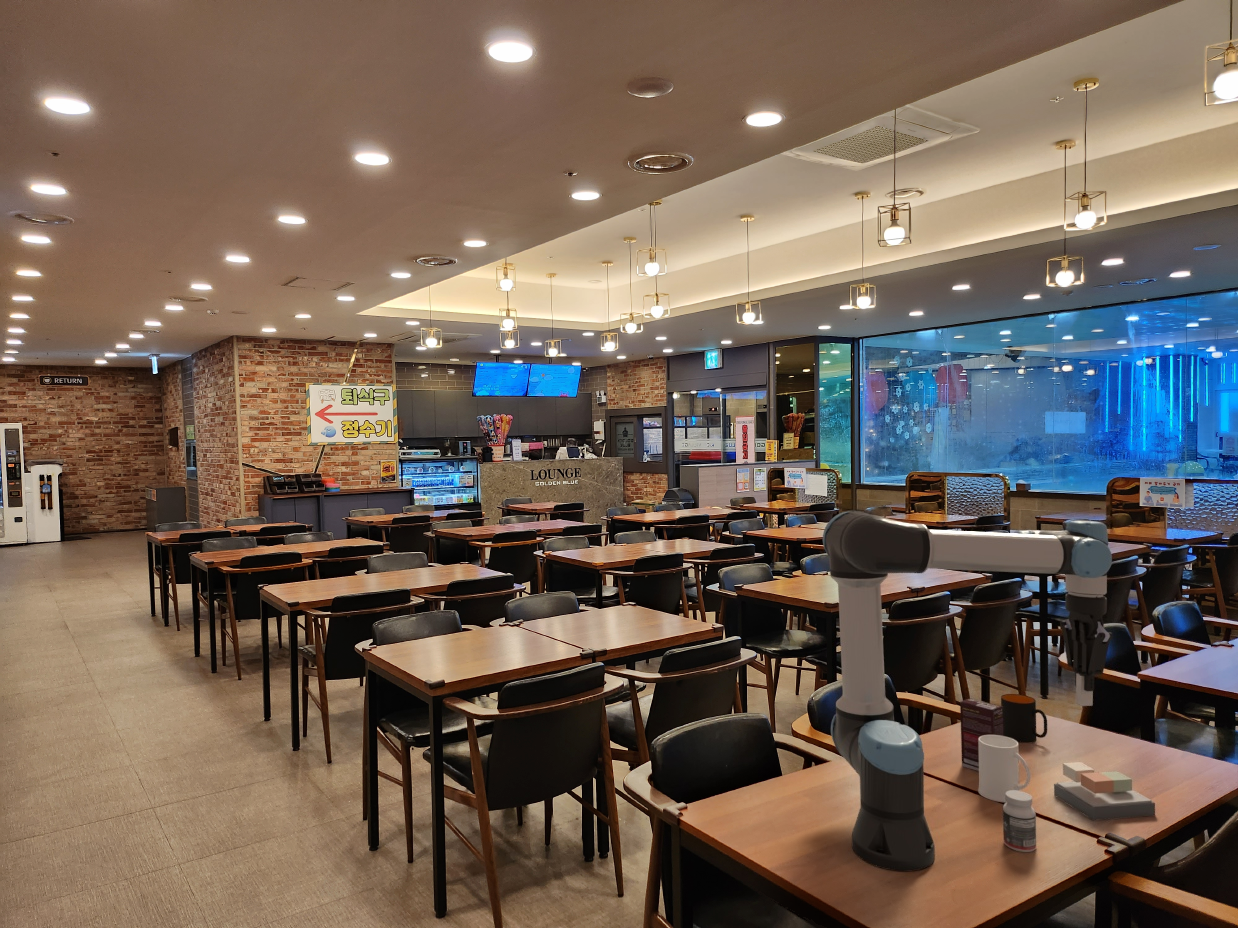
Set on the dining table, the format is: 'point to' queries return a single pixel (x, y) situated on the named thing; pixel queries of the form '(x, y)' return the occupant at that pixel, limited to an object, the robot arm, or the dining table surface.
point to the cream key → (1076, 770)
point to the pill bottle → (1019, 821)
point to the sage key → (1119, 781)
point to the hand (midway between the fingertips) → (1084, 704)
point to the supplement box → (978, 728)
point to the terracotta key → (1097, 782)
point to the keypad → (1104, 802)
